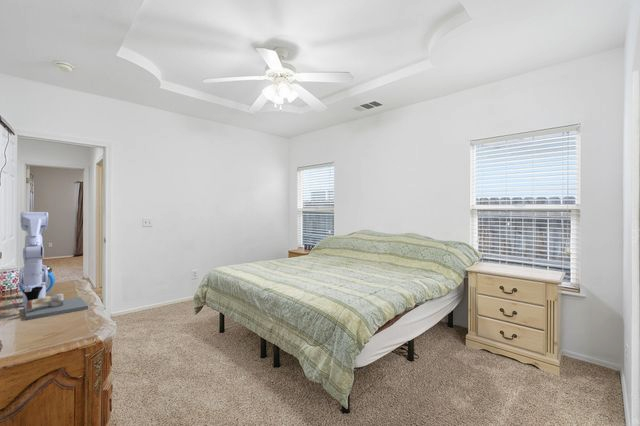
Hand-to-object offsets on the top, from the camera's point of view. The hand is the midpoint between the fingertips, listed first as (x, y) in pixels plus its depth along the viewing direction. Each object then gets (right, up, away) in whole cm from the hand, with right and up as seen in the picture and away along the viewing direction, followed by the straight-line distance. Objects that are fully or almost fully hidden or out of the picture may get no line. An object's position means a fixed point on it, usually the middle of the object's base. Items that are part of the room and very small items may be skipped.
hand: (32, 304), depth 132 cm
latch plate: (+7, -3, +4) cm, 8 cm away
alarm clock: (-22, -3, +26) cm, 34 cm away
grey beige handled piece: (+5, -1, 0) cm, 6 cm away
